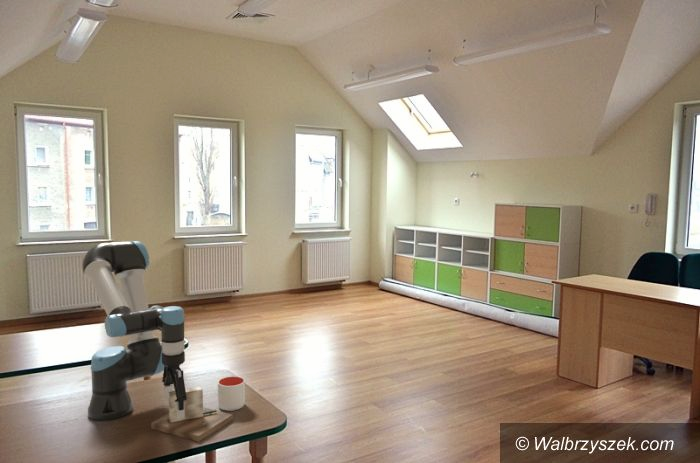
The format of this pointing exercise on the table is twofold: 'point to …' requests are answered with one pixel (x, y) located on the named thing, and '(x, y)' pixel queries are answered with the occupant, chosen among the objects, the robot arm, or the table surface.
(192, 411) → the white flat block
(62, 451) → the table surface
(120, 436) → the table surface
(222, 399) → the cup
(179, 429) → the board
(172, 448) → the table surface
